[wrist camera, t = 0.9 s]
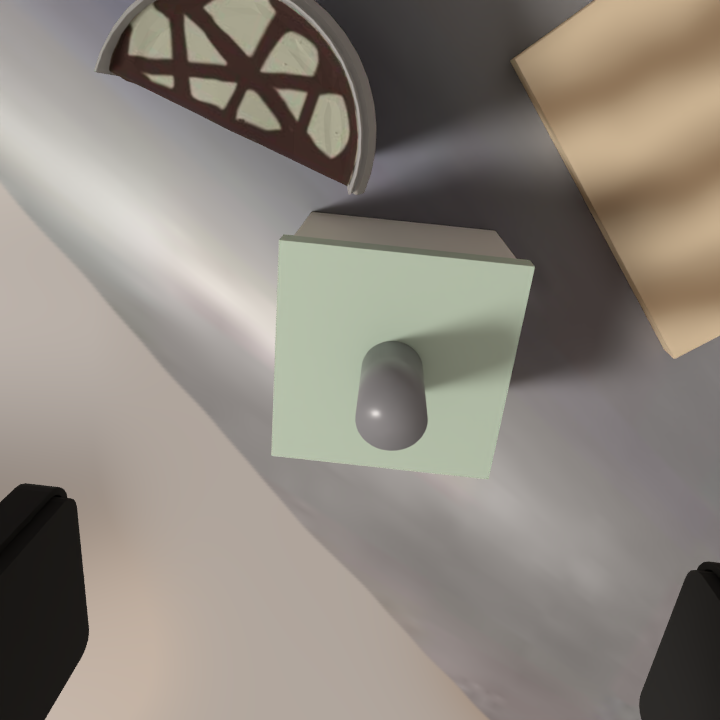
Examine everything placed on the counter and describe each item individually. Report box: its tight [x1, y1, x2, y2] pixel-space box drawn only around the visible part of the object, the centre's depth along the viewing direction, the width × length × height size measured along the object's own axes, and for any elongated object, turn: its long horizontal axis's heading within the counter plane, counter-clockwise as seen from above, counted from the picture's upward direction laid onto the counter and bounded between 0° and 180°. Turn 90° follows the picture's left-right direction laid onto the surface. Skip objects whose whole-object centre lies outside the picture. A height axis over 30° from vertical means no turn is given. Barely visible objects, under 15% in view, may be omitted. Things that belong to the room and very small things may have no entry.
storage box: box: [294, 212, 516, 259], centre depth 34 cm, size 11×11×8 cm
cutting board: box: [510, 0, 720, 359], centre depth 32 cm, size 20×13×2 cm, turn 35°
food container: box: [94, 0, 376, 195], centre depth 28 cm, size 12×6×10 cm, turn 65°
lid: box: [271, 235, 535, 479], centre depth 28 cm, size 12×12×7 cm
